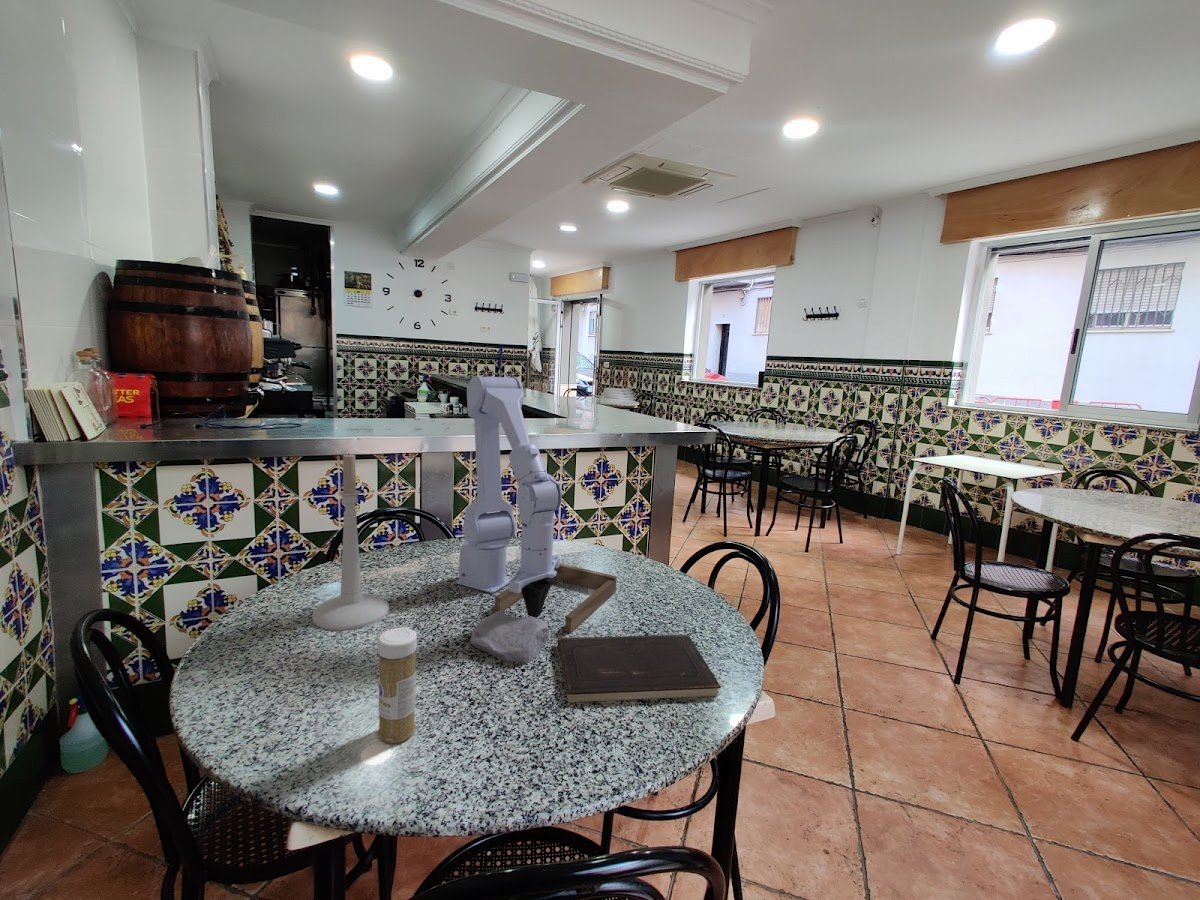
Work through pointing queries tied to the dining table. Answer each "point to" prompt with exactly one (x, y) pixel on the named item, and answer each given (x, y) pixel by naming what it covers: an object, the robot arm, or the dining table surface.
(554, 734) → the dining table surface
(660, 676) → the hardcover book
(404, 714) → the sprinkles bottle
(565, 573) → the shelf lane
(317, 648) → the dining table surface
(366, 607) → the candlestick
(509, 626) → the stone block
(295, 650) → the dining table surface
